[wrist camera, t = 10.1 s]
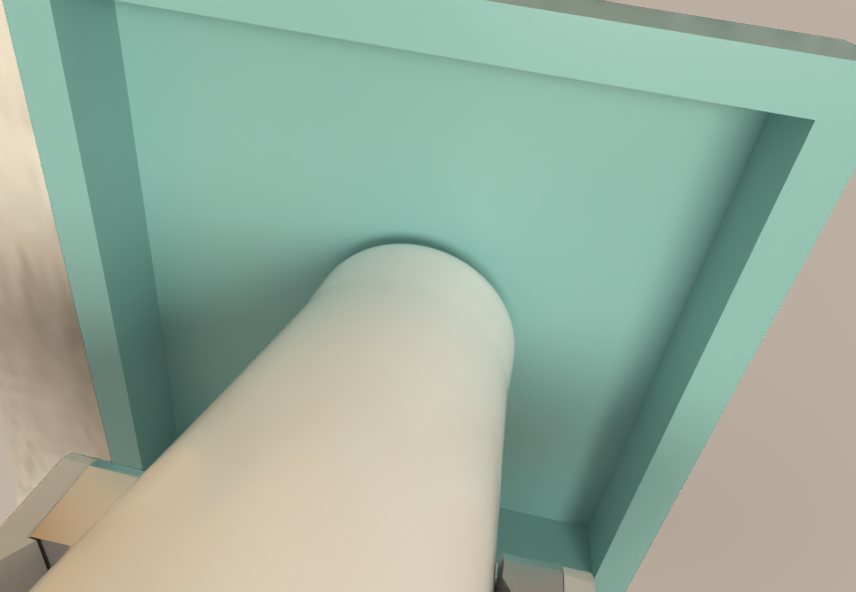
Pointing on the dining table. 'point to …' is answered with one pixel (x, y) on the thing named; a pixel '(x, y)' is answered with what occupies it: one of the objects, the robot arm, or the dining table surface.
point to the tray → (445, 211)
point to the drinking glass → (332, 451)
